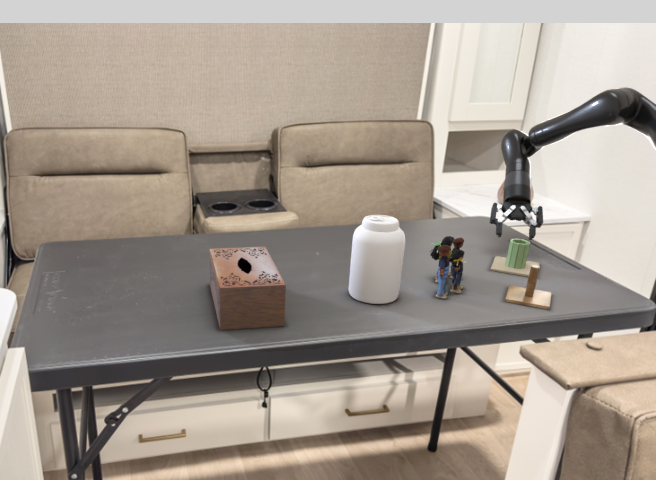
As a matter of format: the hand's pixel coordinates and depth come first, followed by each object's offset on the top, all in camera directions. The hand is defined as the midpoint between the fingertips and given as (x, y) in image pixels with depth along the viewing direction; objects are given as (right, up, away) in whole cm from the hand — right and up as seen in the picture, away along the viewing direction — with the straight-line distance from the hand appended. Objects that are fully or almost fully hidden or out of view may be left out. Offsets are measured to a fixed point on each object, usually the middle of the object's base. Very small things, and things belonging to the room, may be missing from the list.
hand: (515, 237), depth 169 cm
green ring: (-2, -8, -4) cm, 9 cm away
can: (-46, -17, -23) cm, 54 cm away
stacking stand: (-7, -18, -23) cm, 30 cm away
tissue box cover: (-78, -19, -29) cm, 86 cm away
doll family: (-26, -15, -17) cm, 34 cm away
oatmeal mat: (-2, -9, -3) cm, 10 cm away
